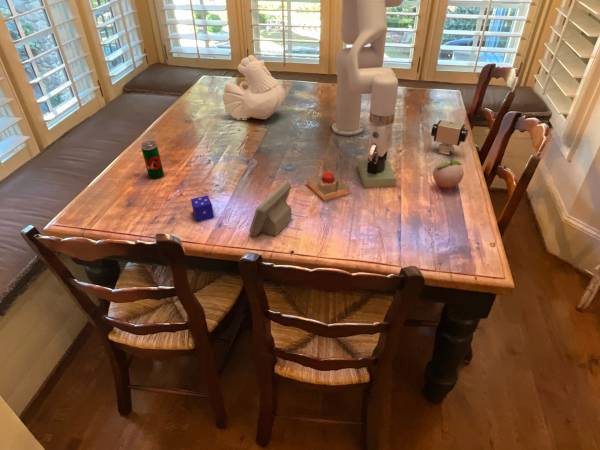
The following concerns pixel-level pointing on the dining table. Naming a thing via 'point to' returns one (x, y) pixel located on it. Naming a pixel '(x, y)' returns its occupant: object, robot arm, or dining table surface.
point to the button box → (328, 187)
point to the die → (202, 208)
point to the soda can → (152, 159)
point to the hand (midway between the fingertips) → (376, 166)
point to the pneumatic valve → (448, 135)
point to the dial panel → (376, 175)
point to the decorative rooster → (253, 92)
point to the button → (328, 177)
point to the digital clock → (272, 212)
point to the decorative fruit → (448, 174)
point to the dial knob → (381, 163)
